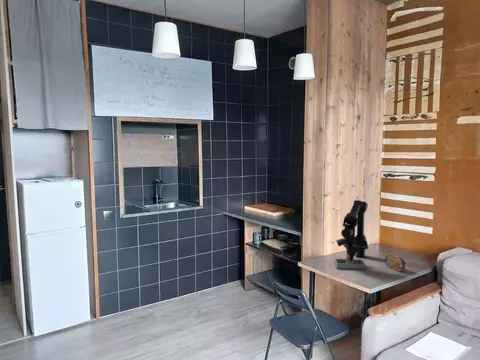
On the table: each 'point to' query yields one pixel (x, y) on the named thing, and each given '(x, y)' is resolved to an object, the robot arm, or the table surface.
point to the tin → (395, 263)
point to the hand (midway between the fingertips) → (349, 258)
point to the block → (348, 260)
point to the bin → (355, 266)
